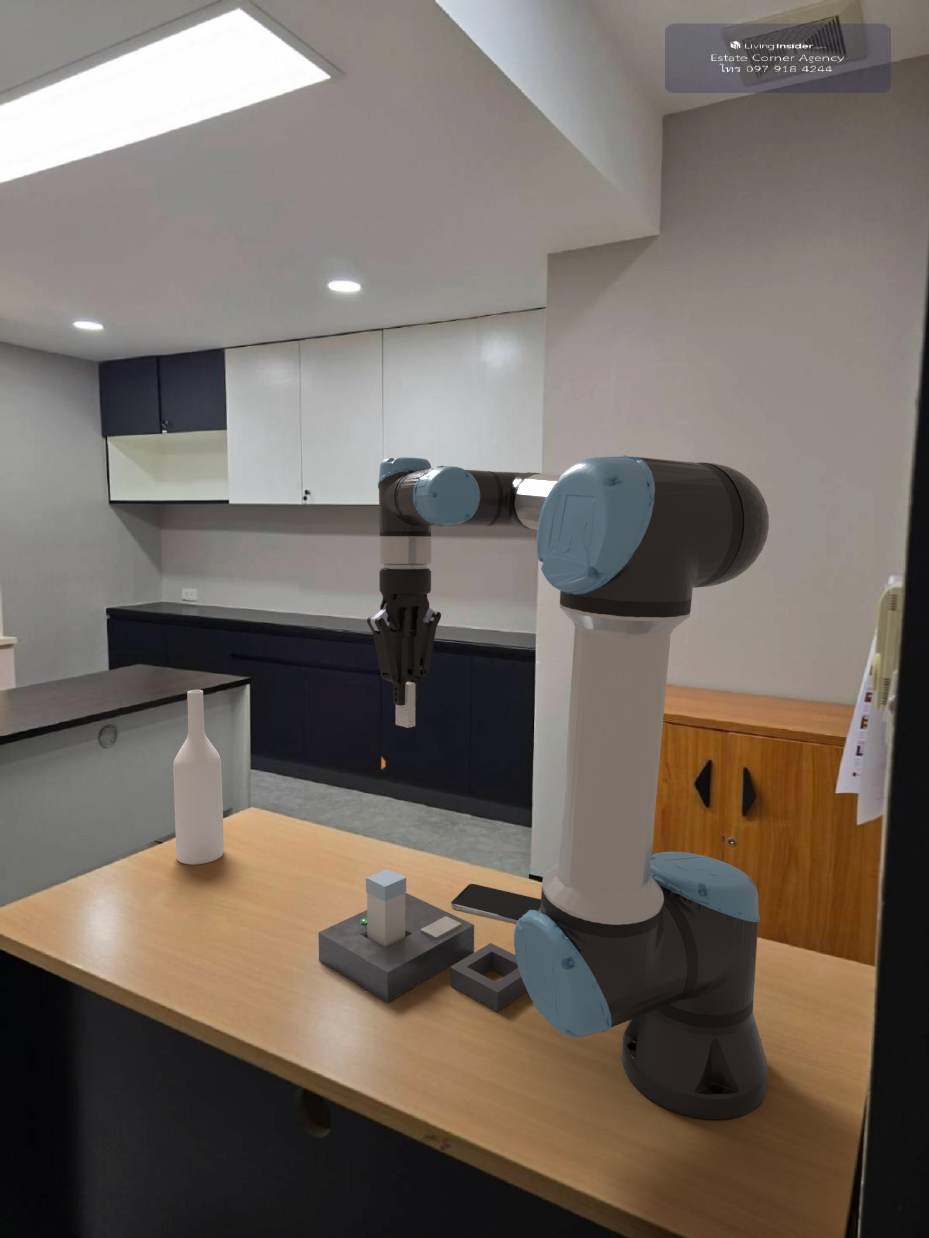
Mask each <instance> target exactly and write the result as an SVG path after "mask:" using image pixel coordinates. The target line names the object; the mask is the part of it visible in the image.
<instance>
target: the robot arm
mask: <svg viewBox="0 0 929 1238" xmlns="http://www.w3.org/2000/svg"><path fill="white" fill-rule="evenodd" d="M377 489H378V506H379V507H378V515H379V516H378V517H379V518H378V520H379V537H378V538H379V548H378V549H379V563H380V564H381V565H383V568H382V567H381V568H380V570H379V572H378V573H379V576H378V577H379V581H378V582H379V592H380V593H381V595H382V601H381V603H380V606H379V607H380V608H379V611H378V612H377V613H376V614H375V615H374V616H372V615H369V616H368V617H367V618H366V622H367V625H368V626H369V628H370V630H371V632H372V637H373V641H374V646H375V651H376V656H377V661H378V666H379V672H380V676H381V679H382V680H386V681H388V682H390V683H392V703H393V705H395V726H400V727H404V728H407V729H409V728H413V727H416V703H417V702H418V699H419V698H418V697H419V696H418V695H419V693H418V692H419V687H418V686H419V683H423V682H424V676H425V677H427V676H428V675H429V672H430V667H431V660H432V654H433V649H434V643H435V636H436V633H437V627H438V625H439V623H440V620H441V618H442V614H441V612H440V611H434V610H433V609H432V608H431V607H430V602H429V601H430V600H429V599H428V594H430V593H431V592H432V570H431V569H430V568H428V565H431V564H432V526H437V527H455V526H456V527H457V526H458V527H463V526H464V527H473V526H474V527H478V526H479V527H481V526H482V527H491V526H492V527H493V526H494V527H512V528H513V527H514V528H519V529H521V528H522V529H525V530H526V529H527V530H533V531H534V530H535V531H536V539H535V540H536V555H537V559H538V561H539V562H541V563H542V565H541V567H540V570H541V572H542V574H543V576H544V578H545V579H546V580H547V582H548V583H549V584H550V585H551V586H552V587H554V588H555V589H556V590H558V591H560V593H559V608H560V609H561V610H562V611H563V612H564V614H565V615H566V616H567V617H568V618H569V619H570V620H571V622H572V623H573V625H574V635H573V649H572V664H571V665H572V666H571V677H570V678H571V679H570V681H571V682H570V692H569V694H570V695H569V709H568V710H569V711H568V724H567V741H566V754H565V755H566V756H565V767H564V768H565V769H564V772H565V773H564V785H563V787H564V788H563V797H562V798H563V799H562V800H563V801H562V816H561V828H560V829H561V831H560V845H559V848H560V849H559V862H558V863H556V864H555V865H553V866H552V867H550V868H549V869H548V870H547V871H546V872H545V874H544V875H543V877H542V881H541V883H542V884H541V895H540V897H541V898H540V899H541V906H540V909H539V910H529V911H528V912H527V913H526V914H525V915H523V916H522V918H520V919H519V920H518V921H517V924H516V923H515V927H514V934H513V948H514V955H516V960H517V964H518V968H519V971H520V974H521V977H522V980H523V982H524V985H525V987H526V989H527V991H526V992H527V993H528V995H529V997H530V1000H531V1001H532V1003H533V1005H534V1006H535V1007H536V1010H537V1011H538V1013H540V1015H541V1016H542V1018H543V1019H544V1020H545V1021H546V1022H547V1023H548V1024H549V1025H550V1026H551V1027H552V1028H553V1029H554V1030H556V1031H557V1032H558V1033H561V1034H562V1035H564V1036H567V1037H569V1038H581V1037H586V1036H589V1035H593V1034H598V1033H605V1032H607V1031H609V1030H611V1029H612V1028H614V1027H616V1026H619V1025H621V1024H624V1023H626V1022H627V1023H626V1026H625V1029H624V1031H623V1037H622V1049H621V1050H622V1052H621V1053H622V1054H621V1060H622V1065H623V1069H624V1071H625V1073H626V1075H627V1077H628V1079H629V1080H630V1081H631V1083H632V1084H633V1085H634V1086H635V1087H636V1088H637V1089H638V1091H640V1092H641V1093H642V1094H643V1095H644V1096H646V1098H648V1099H650V1100H651V1101H653V1102H654V1103H656V1104H658V1105H659V1106H662V1107H663V1108H666V1109H668V1110H670V1111H672V1112H675V1113H678V1114H681V1115H684V1116H688V1117H693V1118H697V1119H703V1120H727V1119H734V1118H738V1117H741V1116H744V1115H747V1114H748V1113H750V1112H752V1111H753V1110H755V1109H756V1108H757V1107H758V1106H759V1105H760V1104H761V1103H762V1102H763V1100H764V1098H765V1097H766V1095H767V1090H768V1089H767V1088H768V1073H769V1072H768V1068H769V1067H768V1061H767V1057H766V1053H765V1050H764V1045H763V1043H762V1039H761V1035H760V1033H759V1029H758V1028H759V1027H758V1026H757V1022H756V1019H755V1015H754V995H755V980H756V965H757V948H758V932H759V922H760V921H761V916H760V914H759V892H758V890H757V886H756V884H755V883H754V881H753V879H752V878H751V877H750V876H749V875H748V874H746V873H745V872H744V871H742V870H740V869H739V868H737V867H735V866H733V865H732V864H729V863H726V862H725V861H722V860H719V859H715V858H714V857H709V856H706V855H703V854H702V855H701V854H698V853H691V852H685V851H663V852H657V853H654V854H652V851H653V850H652V849H653V841H654V840H653V837H654V830H655V829H654V828H655V827H654V826H655V816H656V804H657V796H658V795H657V792H658V784H659V783H658V781H659V770H660V760H661V759H660V758H661V749H662V748H661V747H662V737H663V726H664V712H665V704H666V692H667V680H668V669H669V657H670V648H671V647H670V645H671V638H672V637H671V635H672V633H673V632H674V630H675V629H676V628H677V627H678V626H680V625H681V624H682V623H683V622H685V621H686V620H688V618H690V616H691V611H692V610H691V607H692V598H693V590H694V589H695V588H696V589H697V588H706V587H707V588H708V587H714V586H717V585H721V584H723V583H724V584H725V583H727V582H729V581H731V580H733V579H735V578H737V577H739V576H740V575H741V574H744V572H746V571H747V570H748V569H749V568H750V567H751V566H752V565H753V564H754V563H755V562H756V561H757V559H758V557H759V556H760V554H761V553H762V551H763V550H764V546H765V544H766V542H767V539H768V533H769V530H770V520H769V517H770V514H769V511H768V510H769V509H768V506H767V503H766V501H765V498H764V496H763V494H762V492H761V491H760V489H759V488H758V487H757V485H756V484H755V483H754V482H753V481H752V480H751V479H750V478H749V477H747V476H746V474H743V473H742V472H740V471H739V470H737V469H734V468H732V467H729V466H726V465H723V464H719V463H711V462H693V461H681V460H672V459H671V460H670V459H659V458H649V457H639V456H631V455H630V456H628V455H625V454H624V455H621V456H595V457H590V458H585V459H583V460H580V461H578V462H576V463H574V464H573V465H571V466H570V467H568V468H567V469H566V470H565V471H563V473H562V474H550V473H548V474H546V473H541V472H540V473H539V472H519V471H518V472H517V471H514V472H513V471H492V470H477V469H476V470H475V469H473V470H472V469H464V468H462V467H458V466H454V465H453V466H451V465H450V466H444V465H440V466H439V465H437V466H435V467H434V468H433V467H432V465H431V462H430V461H429V460H428V459H426V458H420V457H407V456H406V457H402V456H401V457H388V458H385V459H383V460H381V462H380V465H379V477H378V483H377Z"/></svg>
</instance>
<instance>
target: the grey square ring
mask: <svg viewBox="0 0 929 1238" xmlns="http://www.w3.org/2000/svg"><path fill="white" fill-rule="evenodd" d="M491 970H493V971H494V972H496V973H498V974H501V975H502V976H503V977H501V979H499V980H497V981H495V980H493V979H491V978H489V977H487V976H485V975H484V974H486V973H488V972H489V971H491ZM449 986H451V987H452V988H454V989H456V990H457V991H459V992H461V993H463V994H465V995H466V996H468V997H470V998H471V999H474V1000H475V1001H478V1002H479V1003H481V1004H483V1005H484V1006H486V1007H488V1008H490V1009H491V1010H493V1011H495V1012H499V1011H501V1010H502V1009H503V1008H505V1007H506V1006H508V1005H509V1004H510V1003H512V1002H514V1001H515V1000H516V999H518V998H519V997H520V996H522V995H523V994H525V993H526V992H528V991H527V989H526V987H525V985H524V982H523V980H522V977H521V974H520V971H519V968H518V964H517V960H516V955H515V953H512V952H511V951H508V950H506V949H505V948H502V947H500V946H498V945H495V944H493V942H490V943H488V944H487V945H485V946H483V947H481V948H480V949H478V950H476V951H474V952H473V953H472V954H470V955H468V956H467V957H465V958H463V959H461V960H460V961H458V962H456V963H455V964H453V965H451V966H450V967H449Z"/></svg>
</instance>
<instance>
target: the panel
mask: <svg viewBox="0 0 929 1238" xmlns="http://www.w3.org/2000/svg"><path fill="white" fill-rule="evenodd" d="M474 952H475V924H474V923H472V922H470V921H466V920H465V919H463V918H460V916H459V917H458V916H456V915H454V914H452V913H450V912H448V911H445V910H443V909H441V908H439V907H437V906H435V905H433V904H431V903H429V902H428V901H427V902H426V901H425V900H423V899H420V898H418V897H416V896H414V895H412V894H409V893H407V892H405V938H403V939H401V940H399V941H397V942H395V943H393V944H392V945H390V946H388V947H386V948H384V947H382V946H380V945H378V944H376V943H375V942H373V941H371V940H369V939H368V937H367V909H366V910H364V911H362V912H359V913H357V914H355V915H353V916H351V917H349V918H347V919H344V920H342V921H340V922H338V923H335V924H333V925H331V926H329V927H326V928H325V929H322V930H320V931H318V961H320V962H321V963H323V964H325V965H326V966H328V967H329V968H331V969H333V970H334V971H336V972H337V973H338V974H341V975H342V976H344V977H345V978H347V979H349V980H350V981H352V982H353V983H355V984H357V985H358V986H360V987H361V988H363V989H365V990H366V991H368V992H369V993H371V994H372V995H375V996H376V997H378V999H381V1000H382V1001H383V1002H385V1003H387V1004H388V1003H389V1004H390V1002H392V1001H394V1000H395V999H397V998H399V997H400V996H403V995H404V994H405V993H408V992H409V991H411V990H412V989H414V988H416V987H417V986H419V985H421V984H422V983H424V982H425V981H428V980H429V979H431V978H433V977H434V976H436V975H438V974H440V973H441V972H443V971H444V970H446V969H448V968H450V967H451V966H452V965H454V964H456V963H458V962H459V961H461V960H463V959H464V958H466V957H468V956H469V955H471V954H473V953H474Z"/></svg>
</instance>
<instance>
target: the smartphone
mask: <svg viewBox="0 0 929 1238" xmlns="http://www.w3.org/2000/svg"><path fill="white" fill-rule="evenodd" d="M540 906H541V898H538V897H537V898H536V897H532V896H528V895H524V894H521V893H520V894H519V893H516V892H511V891H507V890H502V889H497V888H493V887H489V886H484V885H480V884H477V883H469V884H468V885H467V886H466V887H465V888H464V889H462V890H461V891H460V893H458V894H457V896H456V897H455V898H453V900H452V901H451V902H450V908H451V909H453V910H457V911H461V912H464V913H468V914H472V915H476V916H483V917H487V918H492V919H494V920H500V921H504V922H508V923H512V924H515V925H516V924H517V921H518V920H519V919H520V918H522V916H523V915H525V914H526V913H527V912H528V911H529V910H539V909H540Z"/></svg>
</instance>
